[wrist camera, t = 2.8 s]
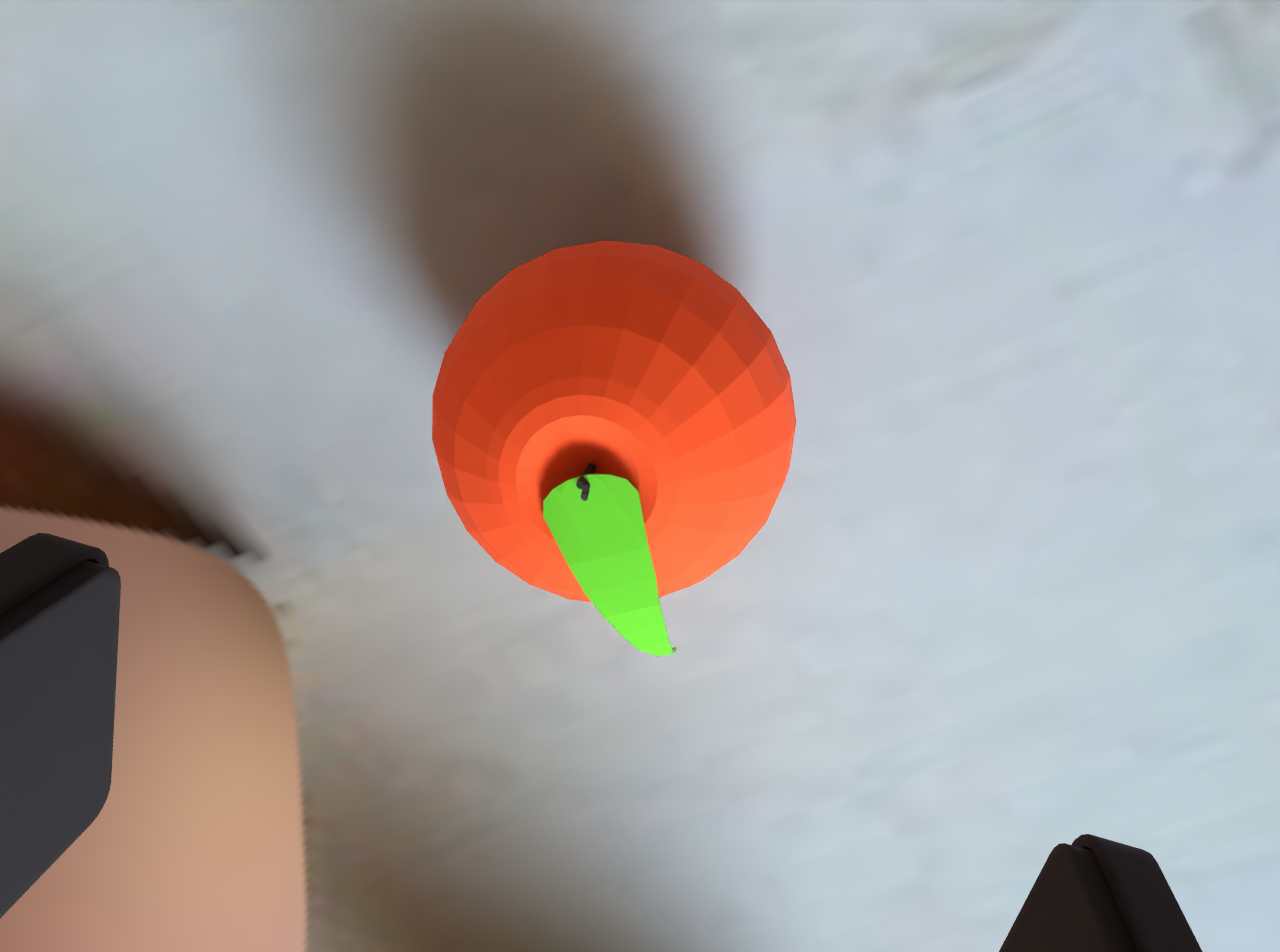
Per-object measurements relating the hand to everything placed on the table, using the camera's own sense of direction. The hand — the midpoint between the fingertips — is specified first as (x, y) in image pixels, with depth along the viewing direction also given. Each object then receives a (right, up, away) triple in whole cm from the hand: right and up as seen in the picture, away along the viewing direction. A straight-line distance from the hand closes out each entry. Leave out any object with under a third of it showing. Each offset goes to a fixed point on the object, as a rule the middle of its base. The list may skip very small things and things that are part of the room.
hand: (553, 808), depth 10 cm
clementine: (+1, +5, +13) cm, 14 cm away
